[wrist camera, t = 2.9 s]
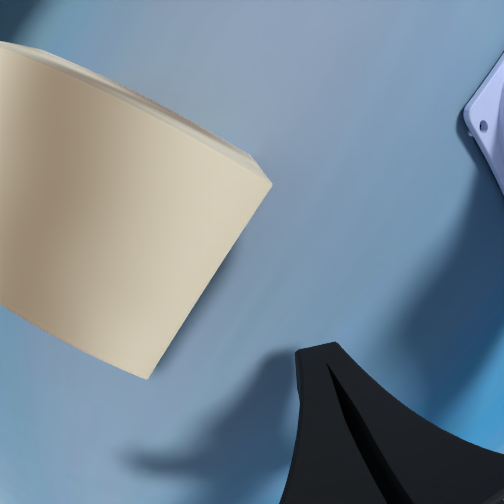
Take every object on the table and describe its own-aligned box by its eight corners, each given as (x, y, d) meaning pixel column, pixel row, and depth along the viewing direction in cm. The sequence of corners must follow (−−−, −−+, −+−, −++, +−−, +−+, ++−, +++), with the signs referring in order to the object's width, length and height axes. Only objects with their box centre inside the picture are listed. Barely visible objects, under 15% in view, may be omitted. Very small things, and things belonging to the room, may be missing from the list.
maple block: (251, 155, 10) (273, 184, 6) (163, 299, 11) (147, 379, 8) (45, 50, 7) (-29, 35, 3) (-10, 203, 9) (-75, 247, 5)
